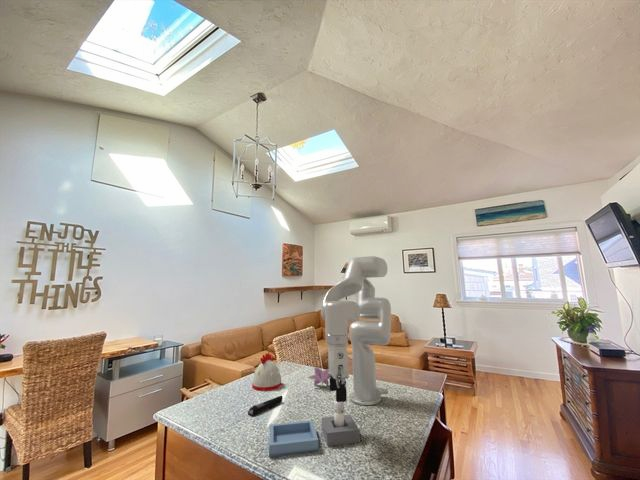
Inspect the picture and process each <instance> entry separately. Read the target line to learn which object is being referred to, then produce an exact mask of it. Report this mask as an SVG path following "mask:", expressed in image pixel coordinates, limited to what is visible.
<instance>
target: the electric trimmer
mask: <svg viewBox="0 0 640 480" xmlns="http://www.w3.org/2000/svg"><path fill="white" fill-rule="evenodd" d="M283 397H284V396H283V395H279V396H277V397H274V398H271V399H269V400H267V401H263V402H262V403H259V404H254V405H252V406H251V407H250V408H249V409H248V412H247V415H248V416H249V417H256V415H258V414H260V413H262V412H264V411H266V410H268V409H269V410H270V409H273V408H274V407H276V406H278V405H279V404H282V402H283Z"/></svg>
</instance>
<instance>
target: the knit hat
mask: <svg viewBox="0 0 640 480" xmlns="http://www.w3.org/2000/svg"><path fill="white" fill-rule="evenodd" d="M259 359H260V361H261V363H260V364H258V366H257V367H256V369H254V371H253V372H254V375H253V377H252V381H251V382H252V384H251V386H252V389H253V390H254V391H258V392H259V391H260V392H270V391H274V390H277V389H279V388H281V386H282V376H281V371H280V370H279V367H278V365H277V364H276V363H275V361H273V360H274V356H272V354H270V352H267V353H265V354H262V357H260V358H259Z"/></svg>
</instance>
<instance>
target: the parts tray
mask: <svg viewBox="0 0 640 480" xmlns="http://www.w3.org/2000/svg"><path fill="white" fill-rule="evenodd" d="M306 452H307V453H308V452H309V453H315V452H319V438H318V435H317V430H316V428H315V423H314V420H313V419H312V420H311V419H310V420H302V421H290V422H283V423H282V422H281V423H273V424H272V423H271V424H269V438H268V457H269V458H274V457H275V458H276V457H283V456H292V455H298V454H299V453H301V454H307V453H306ZM299 455H300V454H299Z"/></svg>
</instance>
